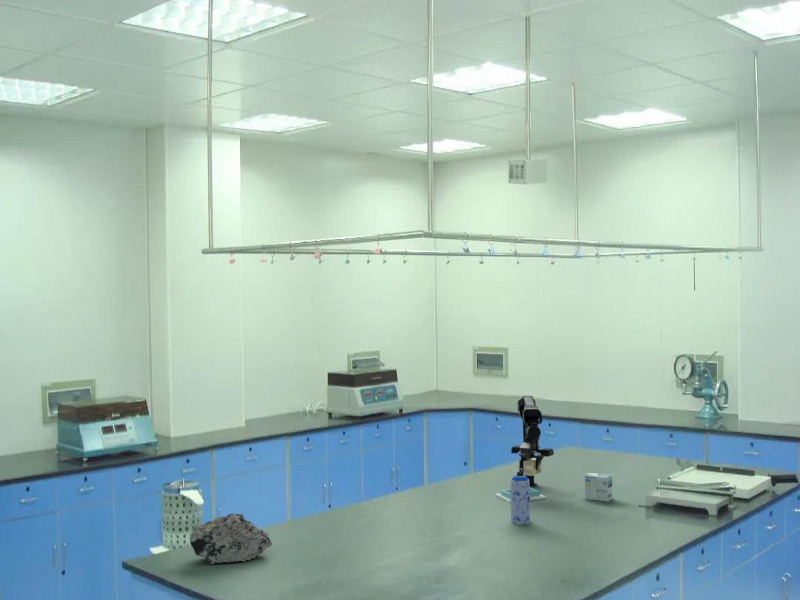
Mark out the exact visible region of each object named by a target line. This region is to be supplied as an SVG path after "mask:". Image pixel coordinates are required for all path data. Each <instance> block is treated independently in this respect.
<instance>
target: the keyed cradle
mask: <svg viewBox="0 0 800 600" xmlns="http://www.w3.org/2000/svg"><path fill="white" fill-rule="evenodd" d="M494 496H495V497H497V498H498V499H501V500H503V501H505V502H507V503H510V504H511V488H509V489H500V492H499V493H495V494H494ZM546 498H547V497H546V496H545V495H543V494H541V491H540V490H538V489H535V488H533V487H531V486H530V501H537V500H546Z"/></svg>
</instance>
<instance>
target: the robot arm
mask: <svg viewBox="0 0 800 600" xmlns="http://www.w3.org/2000/svg"><path fill="white" fill-rule="evenodd" d="M516 406H517V412H518V416H520V419H521V421H522V443H521V444H520V445H518V444H517V445H513V446H512V447H511V449H510V453H511V454H518V456H519V459H518V472H519V471H522V472H523V475H524V466H523V462H524V461H526V460H529V459H532V458H536V471H537V470H538V469H539V466H540V464H541V465H542V462H543V460H544V458H546V457H551V456H554V454H555V452H554V450H553V448H549V447H545V448H544V447H543V448H541V446H540V445H539V444H540V443H539V441H540V439H541V438H540V436H541V434H542V433H541V432H542V431H541V429H540V427H539V424H540V425H541V424H542V422H543V415H542V411H541V410H540V409H539V408H540V407H538V406H537V405H536V400H535V399H534V396H533V395H521V398H520V399H519V400H517V405H516ZM535 454H536V455H535ZM525 476H526V477H527V478H528V479H529V482H530V487H531V486H537V485H538V483H536V482H535V475H533V476H528V475H525Z"/></svg>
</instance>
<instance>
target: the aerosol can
mask: <svg viewBox="0 0 800 600" xmlns="http://www.w3.org/2000/svg"><path fill="white" fill-rule="evenodd" d="M530 487H531V486H530V482H529V479H528V478H527V477H526V476H525V475H523V472H522V471H519V470H518V471H517V472H516V475H513V476H512V477H511V479H510V489H511V503H510V517H511V518H510V523H511V524H514V525H521V526H522V525H529V524H531V505H530V504H531V500H530Z"/></svg>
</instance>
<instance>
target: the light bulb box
mask: <svg viewBox="0 0 800 600" xmlns="http://www.w3.org/2000/svg"><path fill="white" fill-rule="evenodd" d="M613 487H614V486H613V474H604V473H595V472H589V473H586V474H585V475H584V492H585V493H584V498H585V500H591V501H601V502H609V501H611V500H613V498H614V491H613V489H614V488H613Z"/></svg>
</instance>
